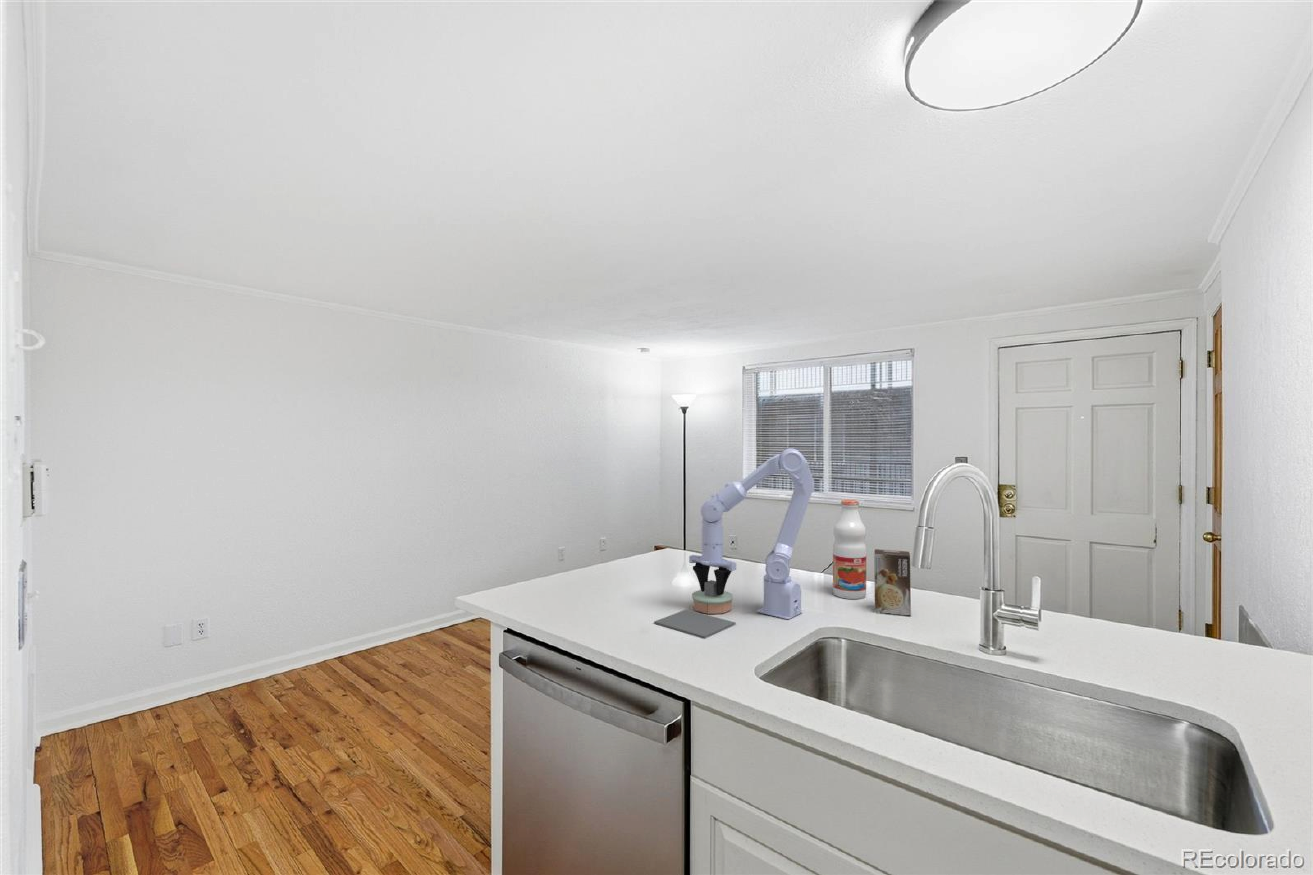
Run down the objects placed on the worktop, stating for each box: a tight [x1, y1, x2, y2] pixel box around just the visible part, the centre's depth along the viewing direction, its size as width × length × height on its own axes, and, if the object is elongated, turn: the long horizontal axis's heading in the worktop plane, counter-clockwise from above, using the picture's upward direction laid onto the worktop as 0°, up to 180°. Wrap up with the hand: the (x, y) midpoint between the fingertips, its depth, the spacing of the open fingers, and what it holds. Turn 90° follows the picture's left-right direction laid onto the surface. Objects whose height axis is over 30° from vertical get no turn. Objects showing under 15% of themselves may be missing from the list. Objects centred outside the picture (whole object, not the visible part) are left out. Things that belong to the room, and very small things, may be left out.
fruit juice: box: [832, 499, 867, 600], centre depth 174 cm, size 9×9×28 cm
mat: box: [653, 609, 736, 639], centre depth 149 cm, size 16×13×1 cm
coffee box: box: [873, 548, 912, 616], centre depth 159 cm, size 9×6×16 cm
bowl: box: [692, 599, 733, 615], centre depth 162 cm, size 10×10×3 cm
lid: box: [691, 580, 733, 604], centre depth 162 cm, size 11×11×4 cm
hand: (712, 592), depth 162 cm, fingers open, 5 cm apart
